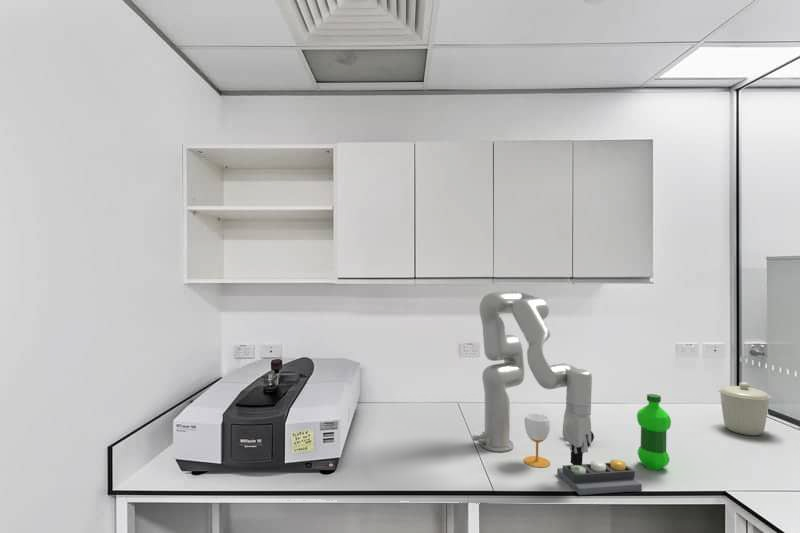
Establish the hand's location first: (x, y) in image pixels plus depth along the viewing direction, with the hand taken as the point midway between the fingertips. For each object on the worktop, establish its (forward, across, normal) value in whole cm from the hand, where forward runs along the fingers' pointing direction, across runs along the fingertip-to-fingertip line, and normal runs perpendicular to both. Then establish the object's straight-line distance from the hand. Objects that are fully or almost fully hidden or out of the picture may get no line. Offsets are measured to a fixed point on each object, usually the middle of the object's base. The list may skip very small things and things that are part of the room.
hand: (576, 464), depth 149 cm
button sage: (+4, +1, 0) cm, 4 cm away
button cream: (+3, +1, +7) cm, 8 cm away
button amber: (+2, +1, +14) cm, 15 cm away
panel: (+6, +1, +7) cm, 10 cm away
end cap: (+7, -32, +20) cm, 39 cm away
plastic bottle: (+6, -7, +33) cm, 35 cm away
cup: (+7, -16, -6) cm, 18 cm away
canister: (+6, -33, +96) cm, 102 cm away
